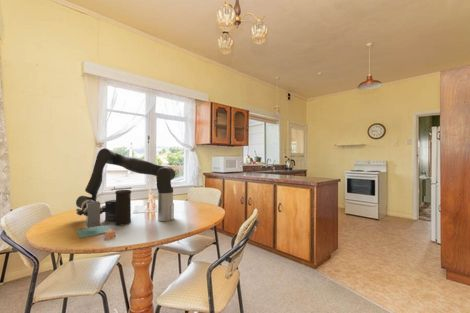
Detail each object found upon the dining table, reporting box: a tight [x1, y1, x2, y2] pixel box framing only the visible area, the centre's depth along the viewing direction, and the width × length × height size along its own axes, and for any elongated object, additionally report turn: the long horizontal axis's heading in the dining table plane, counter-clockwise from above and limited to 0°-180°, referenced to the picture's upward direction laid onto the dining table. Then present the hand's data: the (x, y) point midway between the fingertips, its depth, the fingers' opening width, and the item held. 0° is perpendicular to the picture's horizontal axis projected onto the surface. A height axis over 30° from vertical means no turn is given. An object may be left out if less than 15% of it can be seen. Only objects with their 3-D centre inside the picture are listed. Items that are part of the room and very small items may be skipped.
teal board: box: [77, 224, 109, 239], centre depth 120 cm, size 13×13×1 cm
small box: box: [104, 199, 116, 222], centre depth 144 cm, size 13×7×12 cm, turn 84°
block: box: [104, 229, 116, 240], centre depth 112 cm, size 3×3×3 cm
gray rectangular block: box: [85, 200, 101, 228], centre depth 120 cm, size 6×6×12 cm
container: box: [114, 189, 132, 226], centre depth 136 cm, size 9×9×20 cm
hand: (93, 213), depth 118 cm, fingers closed on gray rectangular block, 5 cm apart
